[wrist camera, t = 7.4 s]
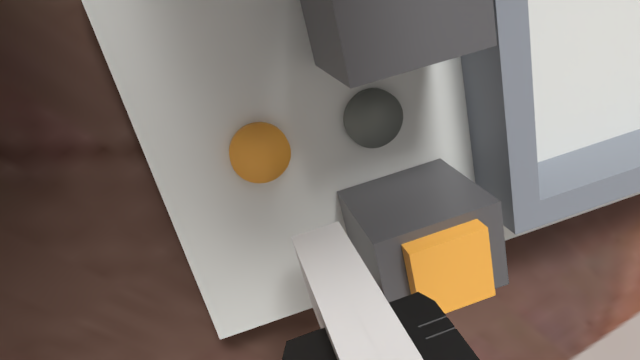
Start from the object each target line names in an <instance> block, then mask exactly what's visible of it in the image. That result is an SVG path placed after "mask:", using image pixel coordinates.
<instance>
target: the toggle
mask: <svg viewBox="0 0 640 360" xmlns="http://www.w3.org/2000/svg"><path fill="white" fill-rule="evenodd" d="M300 3H301V7H302V11H303V16H304V20H305V24H306V28H307V32H308V37H309V41H310V45H311V49H312V53H313V58H314V62H315V65H316V66H317V67H319V68H320V69H322V70H323V71H325V72H326V73H328V74H329V75H331V76H332V77H334V78H335V79H337V80H338V81H340V82H341V83H343V84H344V85H346V86H347V87H349V88H350V89H351V88H355V87H358V86H361V85H365V84H368V83H372V82H375V81H378V80H382V79H385V78H388V77H392V76H395V75H399V74H402V73H405V72H409V71H412V70H416V69H419V68H422V67H426V66H429V65H433V64H436V63H439V62H443V61H446V60H449V59H453V58H456V57H460V56H463V55H466V54H470V53H473V52H477V51H480V50H483V49H487V48H490V47H494V46H497V40H496V28H495V17H494V5H493V0H300Z"/></svg>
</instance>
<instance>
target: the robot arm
mask: <svg viewBox="0 0 640 360" xmlns="http://www.w3.org/2000/svg"><path fill="white" fill-rule="evenodd" d="M291 238H292V242H293V245H294V248H295V251H296V255H297V258H298V261H299V264H300V268H301V271H302V274H303V277H304V281H305V284H306V287H307V290H308V294H309V297H310V300H311V303H312V307H313V309H314V312H315V315H316V317H317V320H318V323H319V325H320V328H321V329H319V330H316V331H314V332H311V333H308V334H305V335H303V336H300V337H297V338H294V339H292V340H289V341H287V342H286V346H285V350H284V354H283V358H282V360H479V358H478V357H477V356H476V354H475V353H474V352H473V350H472V349H471V348H470V346H469V345H468V344H467V342H466V341H465V340H464V338H463V337H462V336H461V335H460V333H459V332H458V331H457V329H455V327H454V325H453V324H452V323H451V321H450V320H449V319H448V318H447V317H446V315H445V313H444V312H443V311H442V310H441V308H440V307H439V306H438V304H437V303H436V302H435V301H434V300H432V299H431V298H429V297H427V296H425V295H423V294H422V293H420V292H416V293H414V294H411V295H408V296H405V297H403V298H400V299H397V300H395V301H392V302H389V303H388V301H387V299H386V298H385V296H384V295H383V293H382V291H381V290H380V288H379V286H378V285H377V283H376V281H375V280H374V278H373V277H372V275H371V273H370V272H369V270H368V268H367V267H366V265H365V264H364V262H363V260H362V259H361V257H360V255H359V254H358V252H357V251H356V249H355V247H354V246H353V244H352V242H351V241H350V239H349V237H348V236H347V234H346V233H345V231H344V229H343V228H342V226H341V224H340V223H339V221H338V222H335V223H332V224H329V225H326V226H323V227H320V228H317V229H314V230H311V231H308V232H305V233H302V234H299V235H297V236H294V237H291Z"/></svg>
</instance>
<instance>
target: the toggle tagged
mask: <svg viewBox="0 0 640 360" xmlns="http://www.w3.org/2000/svg"><path fill="white" fill-rule="evenodd" d="M337 195H338V199H339V203H340V207H341V211H342V215H343V219H344V223H345V227H346V231H347V235H348V237H349V239H350V241H351V242H352V244H353V246H354V247H355V249H356V251H357V252H358V254H359V255H360V257H361V259H362V260H363V262H364V264H365V265H366V267H367V268H368V270H369V272H370V273H371V275H372V277H373V278H374V280H375V281H376V283H377V285H378V286H379V288H380V290H381V291H382V293H383V295H384V296H385V298H386V299H387V301H388V303H389V302H392V301H395V300H397V299H400V298H403V297H405V296H408V295H411V294H414V293H416V292H420V293H422V294H423V295H425V296H427V297H429V298H431V299H432V300H434V301H435V302H436V303H437V304H438V306H439V307H440V308H441V310H442V311H443V312H444V313H448V312H451V311H453V310H456V309H459V308H462V307H464V306H467V305H470V304H473V303H475V302H478V301H481V300H484V299H487V298H489V297H492V296H495V289H496V288H499V287H501V286H504V285H507V284H509V280H508V269H507V259H506V248H505V238H504V228H503V217H502V207H501V201H500V200H498V199H497V198H495V197H494V196H493V195H491V194H490V193H488V192H487V191H486V190H484V189H483V188H481V187H480V186H478V185H477V184H476V183H474V182H473V181H471V180H470V179H469V178H467V177H466V176H464V175H463V174H462V173H460V172H459V171H457V170H456V169H454V168H453V167H452V166H450V165H449V164H447V163H446V162H445V161H443V160H442V159H437V160H433V161H430V162H427V163H424V164H421V165H418V166H415V167H412V168H408V169H405V170H402V171H399V172H396V173H393V174H390V175H387V176H383V177H380V178H377V179H374V180H371V181H368V182H365V183H362V184H359V185H355V186H352V187H349V188H346V189H343V190H340V191H337Z"/></svg>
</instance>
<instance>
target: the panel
mask: <svg viewBox="0 0 640 360" xmlns="http://www.w3.org/2000/svg"><path fill="white" fill-rule="evenodd" d="M82 3H83V5H84V8H85V10H86V13H87V15H88V18H89V20H90V22H91V25H92V27H93V30H94V32H95V35H96V37H97V40H98V42H99V45H100V47H101V49H102V52H103V54H104V57H105V59H106V62H107V64H108V67H109V69H110V71H111V74H112V76H113V79H114V81H115V84H116V86H117V89H118V91H119V93H120V96H121V98H122V101H123V103H124V106H125V108H126V111H127V113H128V116H129V118H130V120H131V123H132V125H133V128H134V130H135V133H136V135H137V138H138V140H139V142H140V145H141V147H142V150H143V152H144V155H145V157H146V160H147V162H148V164H149V167H150V169H151V172H152V174H153V177H154V179H155V182H156V184H157V187H158V189H159V191H160V194H161V196H162V199H163V201H164V204H165V206H166V209H167V211H168V213H169V216H170V218H171V221H172V223H173V226H174V228H175V231H176V233H177V235H178V238H179V240H180V243H181V245H182V248H183V250H184V253H185V255H186V258H187V260H188V262H189V265H190V267H191V270H192V272H193V275H194V277H195V280H196V282H197V284H198V287H199V289H200V292H201V294H202V297H203V299H204V302H205V304H206V306H207V309H208V311H209V314H210V316H211V319H212V321H213V324H214V326H215V329H216V331H217V333H218V336H219V338H220V340H221V339H224V338H227V337H230V336H232V335H235V334H238V333H241V332H244V331H247V330H250V329H253V328H255V327H258V326H261V325H264V324H267V323H270V322H273V321H276V320H278V319H281V318H284V317H287V316H290V315H293V314H296V313H299V312H301V311H304V310H307V309H310V308H313V307H312V303H311V300H310V297H309V294H308V290H307V287H306V284H305V281H304V277H303V274H302V271H301V268H300V264H299V261H298V258H297V255H296V251H295V248H294V245H293V242H292V238H291V237H294V236H297V235H299V234H302V233H305V232H308V231H311V230H314V229H317V228H320V227H323V226H326V225H329V224H332V223H335V222H338V221H339V223H340V224H341V226H342V228H343V229H344V231H345V233H346V234H347V231H346V227H345V223H344V219H343V215H342V211H341V207H340V203H339V199H338V195H337V191H340V190H343V189H346V188H349V187H352V186H355V185H359V184H362V183H365V182H368V181H371V180H374V179H377V178H380V177H383V176H387V175H390V174H393V173H396V172H399V171H402V170H405V169H408V168H412V167H415V166H418V165H421V164H424V163H427V162H430V161H433V160H437V159H442V160H443V161H445V162H446V163H447V164H449V165H450V166H452V167H453V168H454V169H456V170H457V171H459V172H460V173H462V174H463V175H464V176H466V177H467V178H469V179H470V180H471V181H473V182H474V183H475V175H474V166H473V158H472V149H471V141H470V132H469V124H468V115H467V107H466V98H465V90H464V81H463V73H462V64H461V56H460V57H456V58H453V59H449V60H446V61H443V62H439V63H436V64H433V65H429V66H426V67H422V68H419V69H416V70H412V71H409V72H405V73H402V74H399V75H395V76H392V77H388V78H385V79H382V80H378V81H375V82H372V83H368V84H365V85H361V86H358V87H355V88H351V89H350V88H349V87H347V86H346V85H344V84H343V83H341V82H340V81H338V80H337V79H335V78H334V77H332V76H331V75H329V74H328V73H326V72H325V71H323V70H322V69H320V68H319V67H317V66H316V65H315V62H314V58H313V53H312V49H311V45H310V41H309V37H308V32H307V28H306V24H305V20H304V16H303V11H302V7H301V3H300V0H82ZM528 11H529V28H530V45H531V61H532V78H533V95H534V111H535V128H536V145H537V161H538V162H541V161H544V160H547V159H550V158H553V157H556V156H559V155H562V154H565V153H568V152H571V151H574V150H577V149H580V148H583V147H586V146H589V145H592V144H595V143H598V142H601V141H604V140H607V139H611V138H614V137H617V136H620V135H623V134H626V133H629V132H632V131H635V130H638V129H640V0H528ZM638 194H640V192H637V193H634V194H631V195H629V196H626V197H623V198H620V199H617V200H614V201H611V202H608V203H605V204H603V205H600V206H597V207H594V208H591V209H588V210H585V211H582V212H580V213H577V214H574V215H571V216H568V217H565V218H562V219H559V220H556V221H554V222H551V223H548V224H545V225H542V226H539V227H536V228H533V229H531V230H528V231H525V232H522V233H519V234H516V235H515V234H514V233H513V232H511V231H510V230H509V229H507V228H506V227H505V226H504V225H503V228H504V238H505V241H506V240H509V239H511V238H514V237H517V236H520V235H523V234H526V233H529V232H532V231H535V230H537V229H540V228H543V227H546V226H549V225H552V224H555V223H558V222H560V221H563V220H566V219H569V218H572V217H575V216H578V215H581V214H583V213H586V212H589V211H592V210H595V209H598V208H601V207H604V206H606V205H609V204H612V203H615V202H618V201H621V200H624V199H627V198H629V197H632V196H635V195H638ZM347 236H348V235H347Z"/></svg>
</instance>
